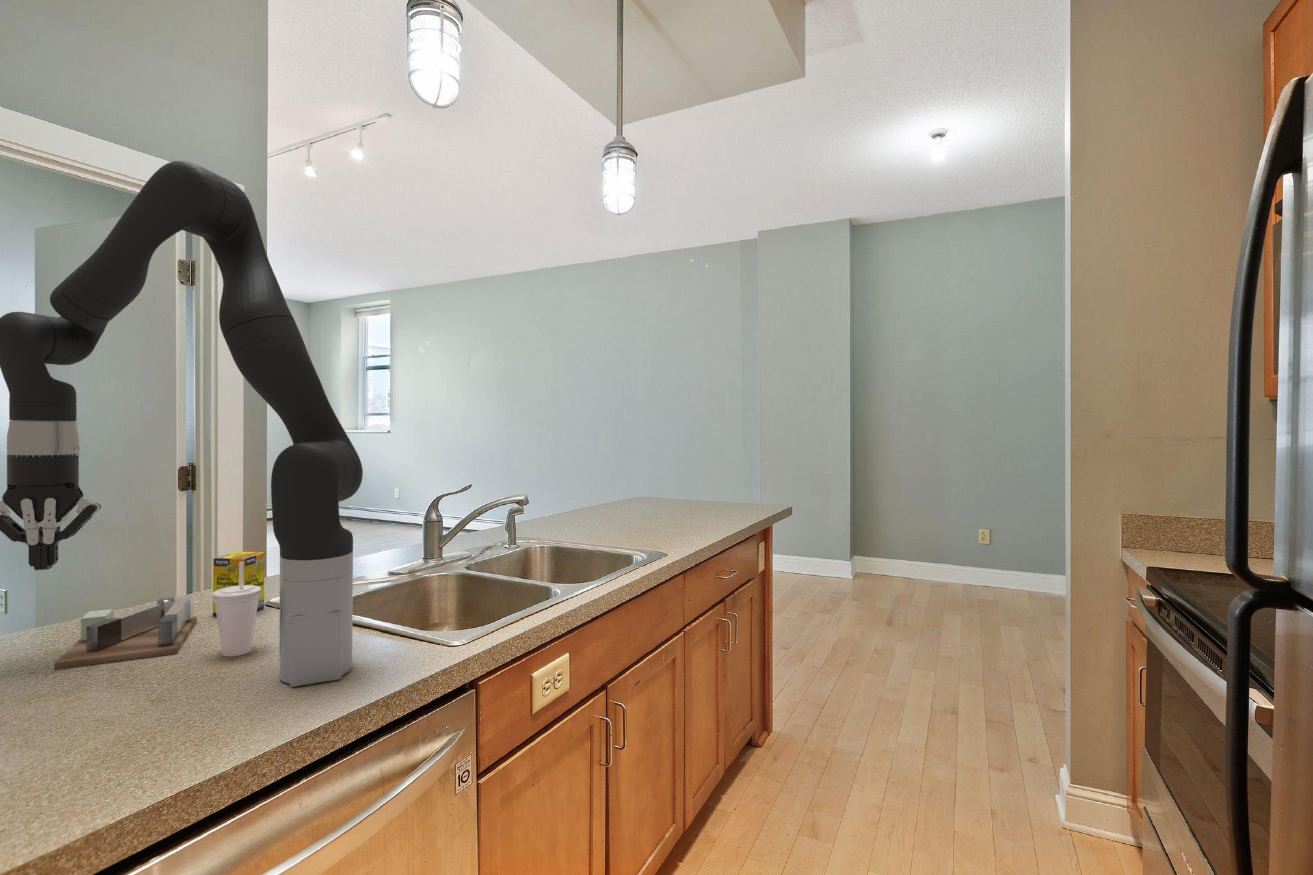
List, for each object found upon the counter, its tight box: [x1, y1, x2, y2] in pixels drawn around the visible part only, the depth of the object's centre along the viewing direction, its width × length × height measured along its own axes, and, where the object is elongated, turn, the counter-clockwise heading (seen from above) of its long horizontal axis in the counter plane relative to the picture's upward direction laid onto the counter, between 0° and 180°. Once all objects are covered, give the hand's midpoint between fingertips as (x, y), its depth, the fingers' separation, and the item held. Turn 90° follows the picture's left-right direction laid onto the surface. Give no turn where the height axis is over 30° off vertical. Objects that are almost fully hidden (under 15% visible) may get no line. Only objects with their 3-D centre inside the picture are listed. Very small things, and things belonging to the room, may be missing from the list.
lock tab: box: [80, 608, 114, 641], centre depth 99 cm, size 4×3×4 cm
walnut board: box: [53, 615, 198, 671], centre depth 99 cm, size 17×14×1 cm
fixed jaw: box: [156, 596, 194, 646], centre depth 101 cm, size 15×5×4 cm, turn 28°
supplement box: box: [212, 551, 266, 618], centre depth 115 cm, size 6×6×11 cm
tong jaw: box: [86, 603, 161, 651], centre depth 98 cm, size 12×2×4 cm, turn 178°
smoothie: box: [211, 562, 262, 658], centre depth 96 cm, size 6×6×14 cm
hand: (43, 568), depth 91 cm, fingers closed
